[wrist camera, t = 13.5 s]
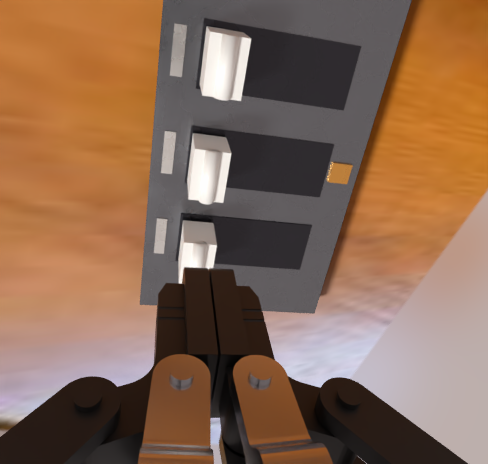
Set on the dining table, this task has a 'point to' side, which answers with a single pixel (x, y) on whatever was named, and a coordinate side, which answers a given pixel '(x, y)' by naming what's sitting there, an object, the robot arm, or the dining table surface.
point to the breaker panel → (268, 137)
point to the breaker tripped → (208, 168)
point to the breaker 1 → (196, 246)
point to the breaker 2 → (224, 63)
